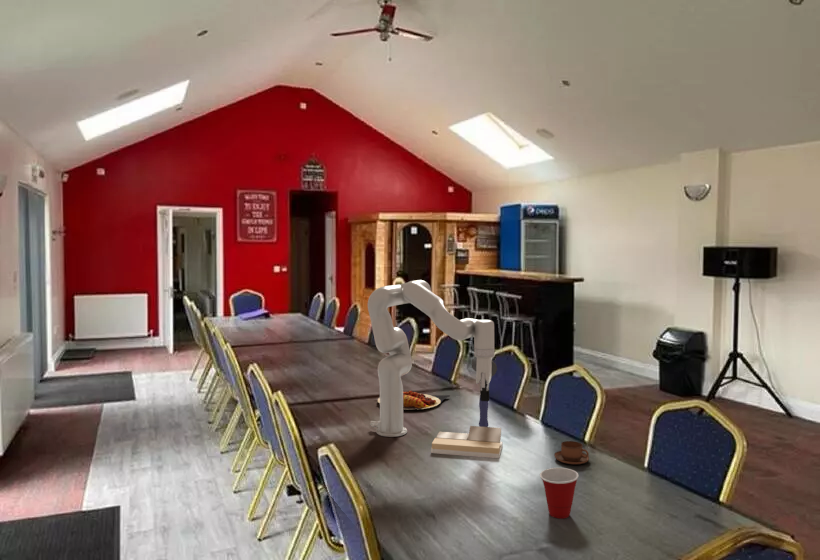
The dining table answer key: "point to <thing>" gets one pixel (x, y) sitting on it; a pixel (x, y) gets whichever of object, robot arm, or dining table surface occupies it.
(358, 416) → the dining table surface
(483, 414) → the rubber mallet
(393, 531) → the dining table surface
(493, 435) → the right plank
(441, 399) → the omelette plate
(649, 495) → the dining table surface
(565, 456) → the cup and saucer
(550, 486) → the plastic cup
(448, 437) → the left plank
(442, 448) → the floor board
